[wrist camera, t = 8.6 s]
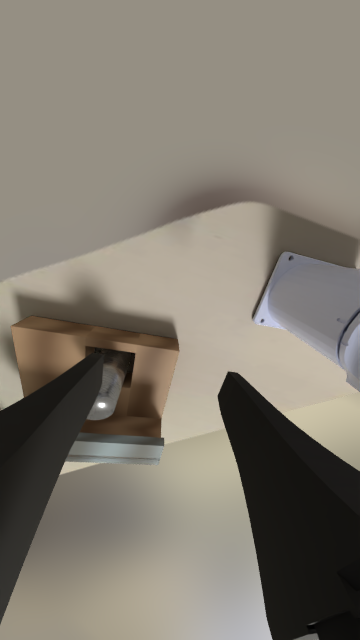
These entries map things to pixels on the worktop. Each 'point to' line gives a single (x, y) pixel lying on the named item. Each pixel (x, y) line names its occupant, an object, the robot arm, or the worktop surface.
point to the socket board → (135, 396)
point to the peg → (110, 383)
